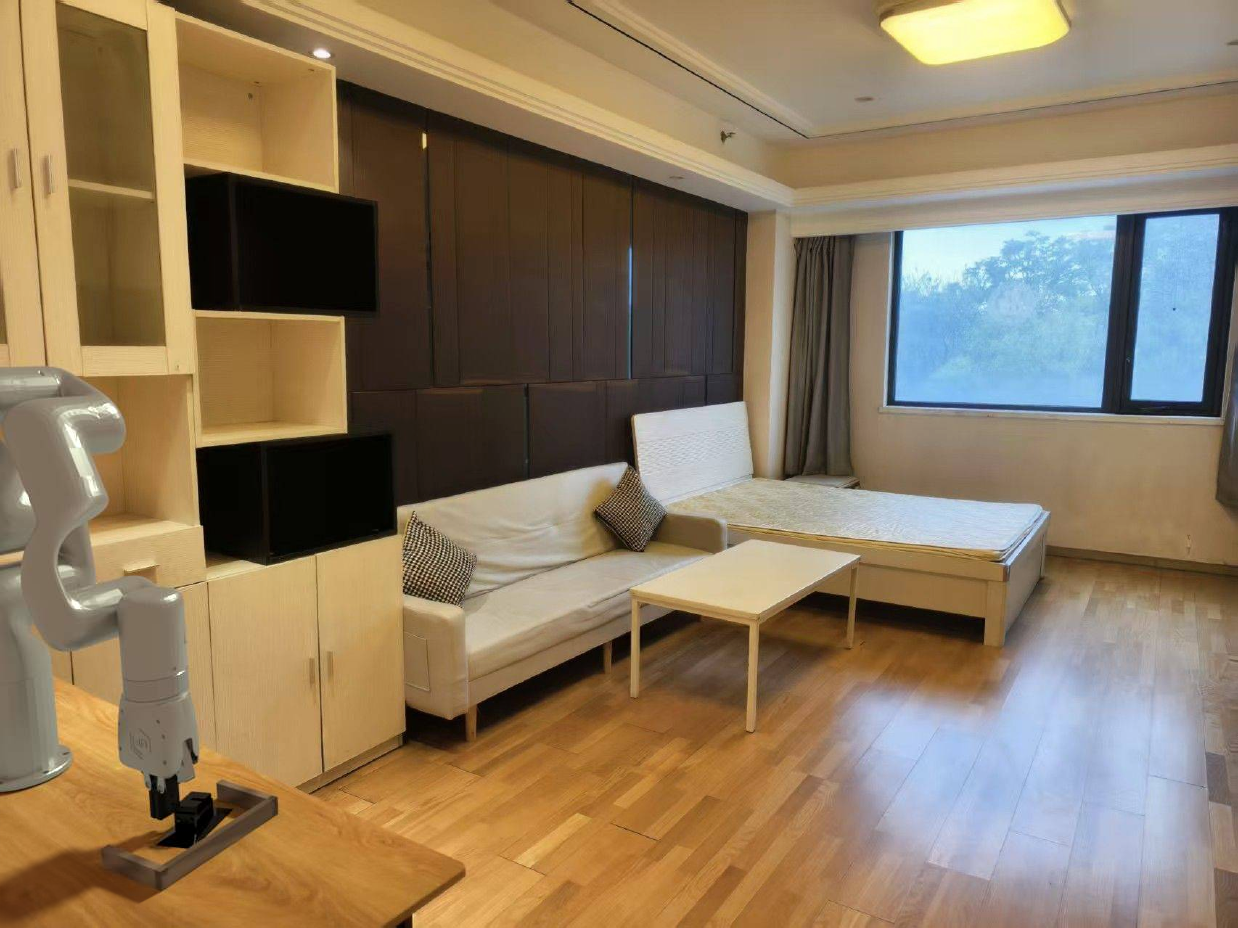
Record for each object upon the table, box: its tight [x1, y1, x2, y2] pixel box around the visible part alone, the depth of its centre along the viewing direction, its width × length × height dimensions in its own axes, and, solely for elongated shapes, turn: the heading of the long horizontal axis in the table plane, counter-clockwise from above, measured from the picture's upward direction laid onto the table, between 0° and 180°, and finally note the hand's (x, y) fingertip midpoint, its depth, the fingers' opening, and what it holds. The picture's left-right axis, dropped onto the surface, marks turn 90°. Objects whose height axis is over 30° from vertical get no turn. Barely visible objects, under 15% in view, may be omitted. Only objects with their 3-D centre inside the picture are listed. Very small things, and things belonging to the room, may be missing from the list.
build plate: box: [154, 790, 234, 850], centre depth 113 cm, size 12×7×5 cm, turn 173°
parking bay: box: [100, 779, 279, 892], centre depth 110 cm, size 10×18×2 cm, turn 156°
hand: (165, 813), depth 112 cm, fingers closed
